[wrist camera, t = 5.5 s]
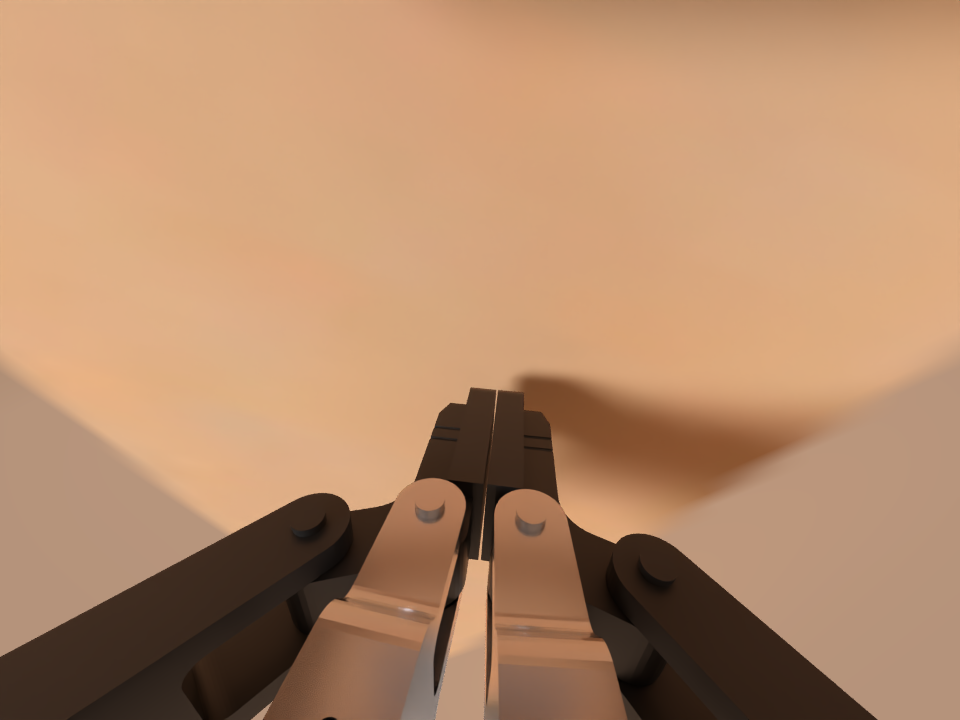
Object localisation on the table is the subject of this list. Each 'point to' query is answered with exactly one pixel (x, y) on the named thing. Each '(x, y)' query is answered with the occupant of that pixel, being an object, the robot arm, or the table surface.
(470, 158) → the table surface
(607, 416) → the table surface
